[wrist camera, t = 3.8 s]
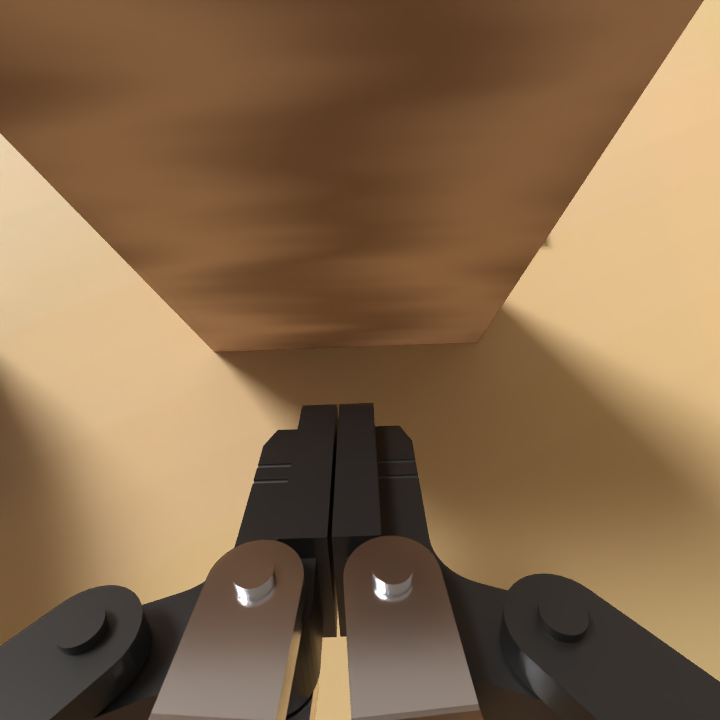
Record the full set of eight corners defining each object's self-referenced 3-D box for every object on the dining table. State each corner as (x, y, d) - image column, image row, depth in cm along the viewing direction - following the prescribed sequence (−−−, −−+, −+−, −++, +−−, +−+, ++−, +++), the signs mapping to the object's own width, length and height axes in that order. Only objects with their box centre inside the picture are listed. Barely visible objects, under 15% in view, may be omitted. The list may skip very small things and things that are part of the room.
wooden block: (214, 351, 18) (-147, -18, 5) (218, 289, 18) (-87, -158, 6) (477, 342, 18) (738, -53, 5) (470, 280, 18) (682, -191, 6)
